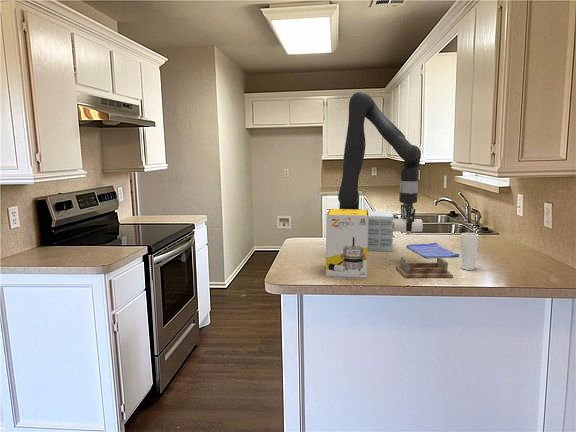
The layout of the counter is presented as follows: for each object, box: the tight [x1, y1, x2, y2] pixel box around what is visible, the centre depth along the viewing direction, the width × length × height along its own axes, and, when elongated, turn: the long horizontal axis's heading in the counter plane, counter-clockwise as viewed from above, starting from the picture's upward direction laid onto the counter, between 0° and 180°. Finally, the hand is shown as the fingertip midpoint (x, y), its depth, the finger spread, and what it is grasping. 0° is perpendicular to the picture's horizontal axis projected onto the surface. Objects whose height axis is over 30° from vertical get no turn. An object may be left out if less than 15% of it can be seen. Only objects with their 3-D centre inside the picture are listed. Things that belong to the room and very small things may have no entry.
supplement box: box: [368, 210, 395, 253], centre depth 215 cm, size 17×13×18 cm
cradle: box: [395, 256, 454, 279], centre depth 171 cm, size 19×14×6 cm
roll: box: [392, 218, 424, 233], centre depth 184 cm, size 13×6×6 cm, turn 91°
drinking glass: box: [460, 232, 480, 271], centre depth 176 cm, size 7×7×15 cm
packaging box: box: [325, 208, 369, 279], centre depth 172 cm, size 16×16×25 cm
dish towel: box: [406, 242, 461, 260], centre depth 207 cm, size 17×24×3 cm
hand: (406, 229), depth 184 cm, fingers closed on roll, 5 cm apart
